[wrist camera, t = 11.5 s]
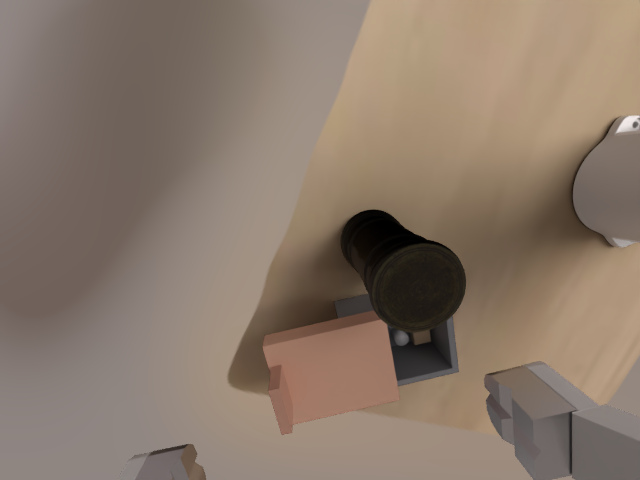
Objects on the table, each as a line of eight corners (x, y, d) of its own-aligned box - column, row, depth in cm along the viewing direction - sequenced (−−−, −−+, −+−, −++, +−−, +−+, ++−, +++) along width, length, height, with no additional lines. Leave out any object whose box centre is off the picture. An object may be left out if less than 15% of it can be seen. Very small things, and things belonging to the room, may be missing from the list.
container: (382, 279, 44) (436, 352, 27) (328, 253, 43) (349, 313, 25) (413, 226, 43) (492, 267, 25) (359, 198, 41) (403, 219, 24)
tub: (424, 280, 45) (451, 304, 37) (432, 338, 47) (458, 371, 39) (333, 301, 44) (341, 329, 37) (346, 358, 47) (355, 396, 39)
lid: (380, 308, 38) (396, 337, 31) (394, 385, 40) (411, 425, 34) (264, 335, 37) (257, 369, 31) (286, 410, 40) (284, 455, 34)
